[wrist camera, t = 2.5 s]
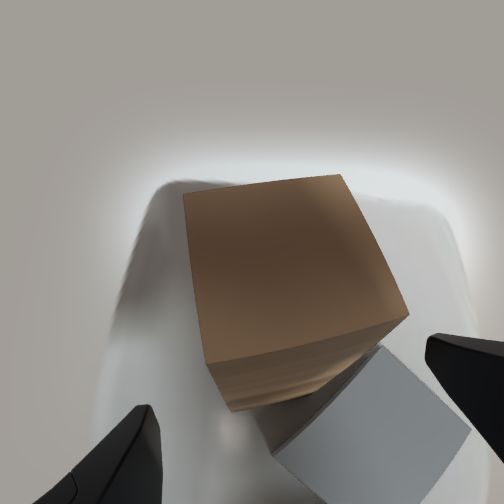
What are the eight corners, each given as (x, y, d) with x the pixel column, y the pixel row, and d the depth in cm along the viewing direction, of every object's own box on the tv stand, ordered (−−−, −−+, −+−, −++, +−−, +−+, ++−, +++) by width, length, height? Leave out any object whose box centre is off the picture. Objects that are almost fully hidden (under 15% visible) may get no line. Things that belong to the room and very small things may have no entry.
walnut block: (310, 394, 18) (409, 314, 7) (231, 412, 17) (205, 364, 6) (290, 323, 20) (340, 174, 10) (216, 338, 20) (182, 194, 9)
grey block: (367, 534, 12) (382, 543, 10) (270, 454, 16) (274, 456, 13) (450, 433, 15) (471, 429, 13) (368, 356, 19) (382, 345, 17)
